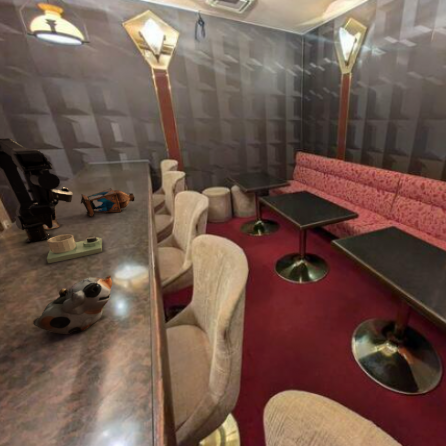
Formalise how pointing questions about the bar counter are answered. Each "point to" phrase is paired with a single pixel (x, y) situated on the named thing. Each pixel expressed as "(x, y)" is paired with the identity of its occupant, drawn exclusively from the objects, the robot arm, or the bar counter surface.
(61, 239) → the bowl
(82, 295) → the lucky cat figurine
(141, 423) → the bar counter surface
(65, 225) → the bar counter surface
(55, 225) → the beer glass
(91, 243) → the scale
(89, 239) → the tare button
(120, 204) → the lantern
